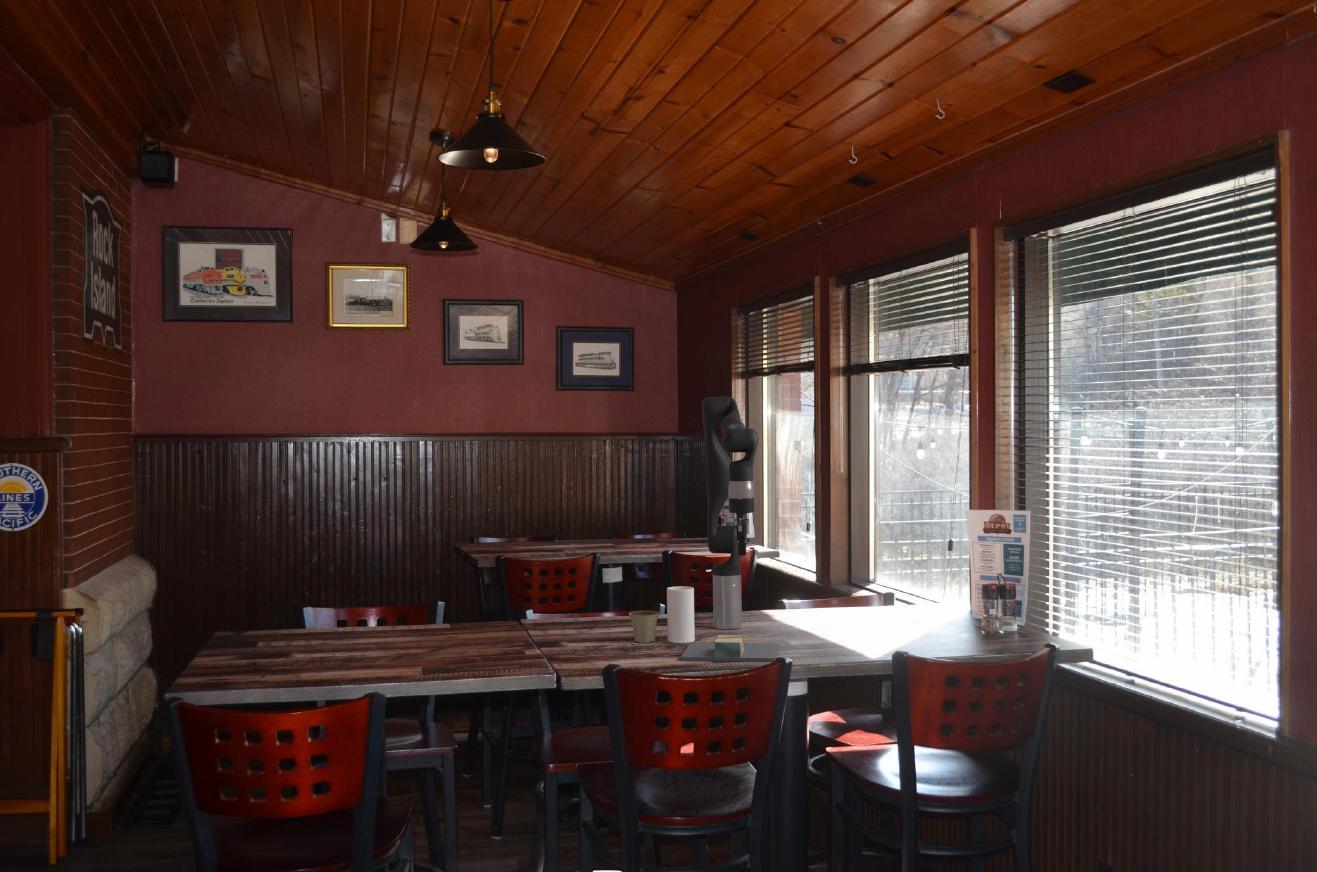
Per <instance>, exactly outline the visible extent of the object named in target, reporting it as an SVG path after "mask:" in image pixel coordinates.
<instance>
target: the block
mask: <svg viewBox="0 0 1317 872" xmlns="http://www.w3.org/2000/svg"><path fill="white" fill-rule="evenodd" d="M714 643H715V657H741V655H742V652H743V650H744V643H745V642H744V635H740V634H737V635H736V634H733V635H732V634H731V635H730V634H729V635H728V634H719V635H718V636H717V637H716V639H715V641H714Z"/></svg>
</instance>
